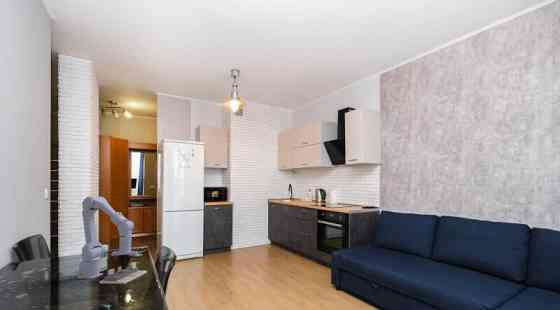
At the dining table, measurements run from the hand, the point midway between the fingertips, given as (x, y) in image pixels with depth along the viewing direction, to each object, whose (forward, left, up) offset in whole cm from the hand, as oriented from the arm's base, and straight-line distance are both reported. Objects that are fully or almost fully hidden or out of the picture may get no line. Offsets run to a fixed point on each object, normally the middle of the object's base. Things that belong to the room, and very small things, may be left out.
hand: (124, 269), depth 152 cm
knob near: (-3, -6, -1) cm, 7 cm away
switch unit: (0, 0, -4) cm, 4 cm away
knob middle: (-2, 0, -1) cm, 2 cm away
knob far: (+1, +6, -1) cm, 6 cm away
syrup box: (-25, +13, -5) cm, 29 cm away
